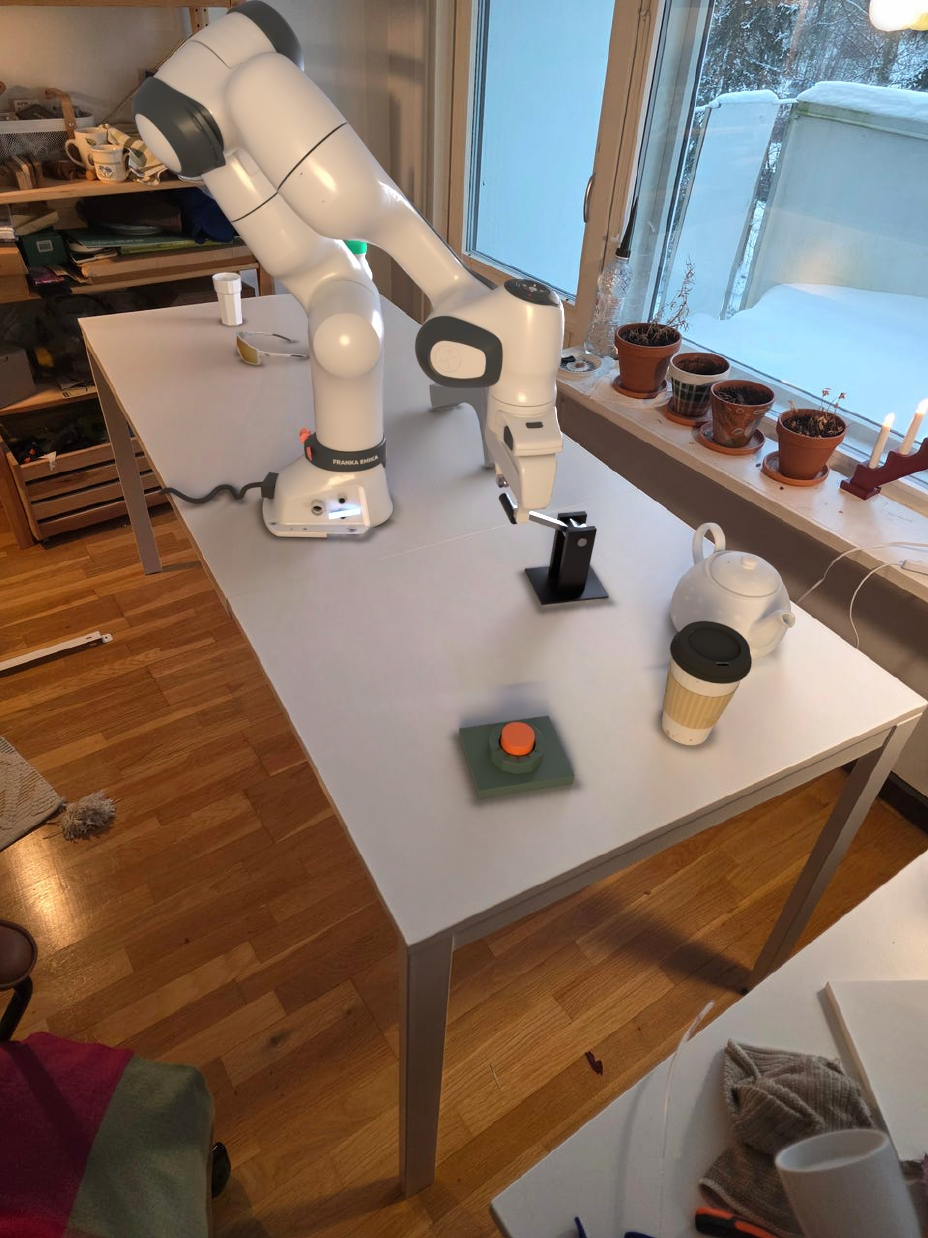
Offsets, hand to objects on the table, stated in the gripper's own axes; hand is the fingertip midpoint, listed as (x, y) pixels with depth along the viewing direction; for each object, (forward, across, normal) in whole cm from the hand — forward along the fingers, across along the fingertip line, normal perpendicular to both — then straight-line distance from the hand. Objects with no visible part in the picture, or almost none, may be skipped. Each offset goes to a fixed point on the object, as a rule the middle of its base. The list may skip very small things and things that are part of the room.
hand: (511, 502), depth 114 cm
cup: (+17, -118, -38) cm, 125 cm away
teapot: (+18, +13, +32) cm, 38 cm away
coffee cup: (+18, +31, +17) cm, 39 cm away
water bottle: (+17, -97, -9) cm, 99 cm away
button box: (+17, +32, -7) cm, 37 cm away
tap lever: (+5, 0, +5) cm, 7 cm away
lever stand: (+17, 0, +10) cm, 20 cm away
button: (+14, +32, -7) cm, 36 cm away
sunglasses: (+17, -97, -30) cm, 103 cm away
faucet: (+17, -51, +8) cm, 55 cm away
